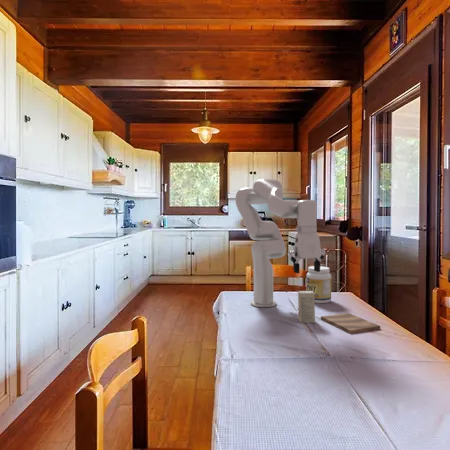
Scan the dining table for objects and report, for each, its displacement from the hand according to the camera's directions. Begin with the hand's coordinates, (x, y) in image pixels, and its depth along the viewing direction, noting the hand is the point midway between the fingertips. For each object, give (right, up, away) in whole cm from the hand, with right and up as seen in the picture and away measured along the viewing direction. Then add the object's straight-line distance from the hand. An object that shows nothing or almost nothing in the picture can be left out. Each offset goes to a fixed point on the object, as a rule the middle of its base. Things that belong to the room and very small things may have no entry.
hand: (306, 272), depth 137 cm
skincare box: (0, -21, +1) cm, 21 cm away
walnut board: (+16, -20, -3) cm, 26 cm away
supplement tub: (+14, -19, +33) cm, 41 cm away
